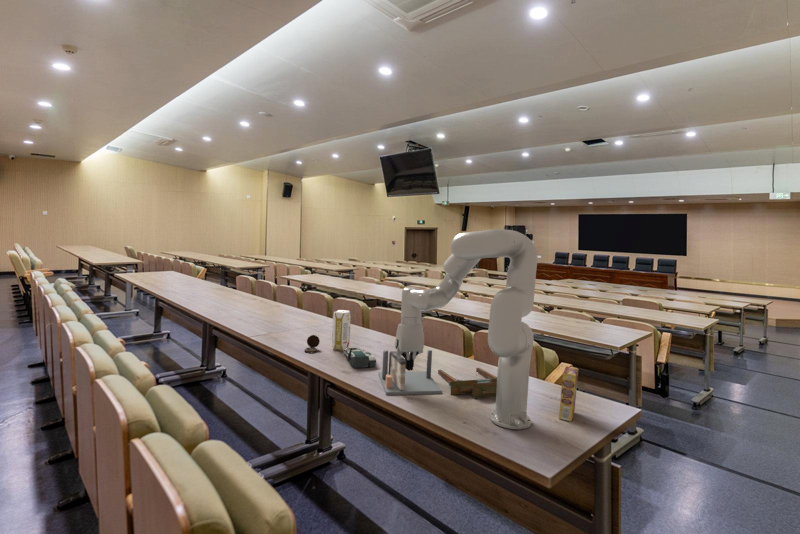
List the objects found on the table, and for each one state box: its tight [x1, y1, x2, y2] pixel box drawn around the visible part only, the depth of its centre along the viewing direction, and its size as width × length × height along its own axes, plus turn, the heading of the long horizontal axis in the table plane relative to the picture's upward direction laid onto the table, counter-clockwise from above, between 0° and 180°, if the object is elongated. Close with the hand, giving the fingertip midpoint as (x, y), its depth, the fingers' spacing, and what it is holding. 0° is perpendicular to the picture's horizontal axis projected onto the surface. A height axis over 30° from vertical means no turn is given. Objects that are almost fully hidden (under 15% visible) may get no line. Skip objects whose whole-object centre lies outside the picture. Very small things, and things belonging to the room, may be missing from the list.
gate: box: [388, 350, 407, 390], centre depth 152 cm, size 15×2×11 cm, turn 18°
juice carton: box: [331, 309, 352, 351], centre depth 202 cm, size 8×9×19 cm
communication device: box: [343, 347, 377, 369], centre depth 184 cm, size 12×24×9 cm, turn 18°
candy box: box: [558, 366, 579, 422], centre depth 132 cm, size 9×4×15 cm, turn 151°
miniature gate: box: [437, 367, 497, 399], centre depth 158 cm, size 27×6×30 cm
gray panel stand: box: [378, 349, 443, 396], centre depth 156 cm, size 22×20×12 cm
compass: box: [304, 334, 322, 354], centre depth 196 cm, size 8×8×7 cm
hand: (409, 369), depth 151 cm, fingers closed
